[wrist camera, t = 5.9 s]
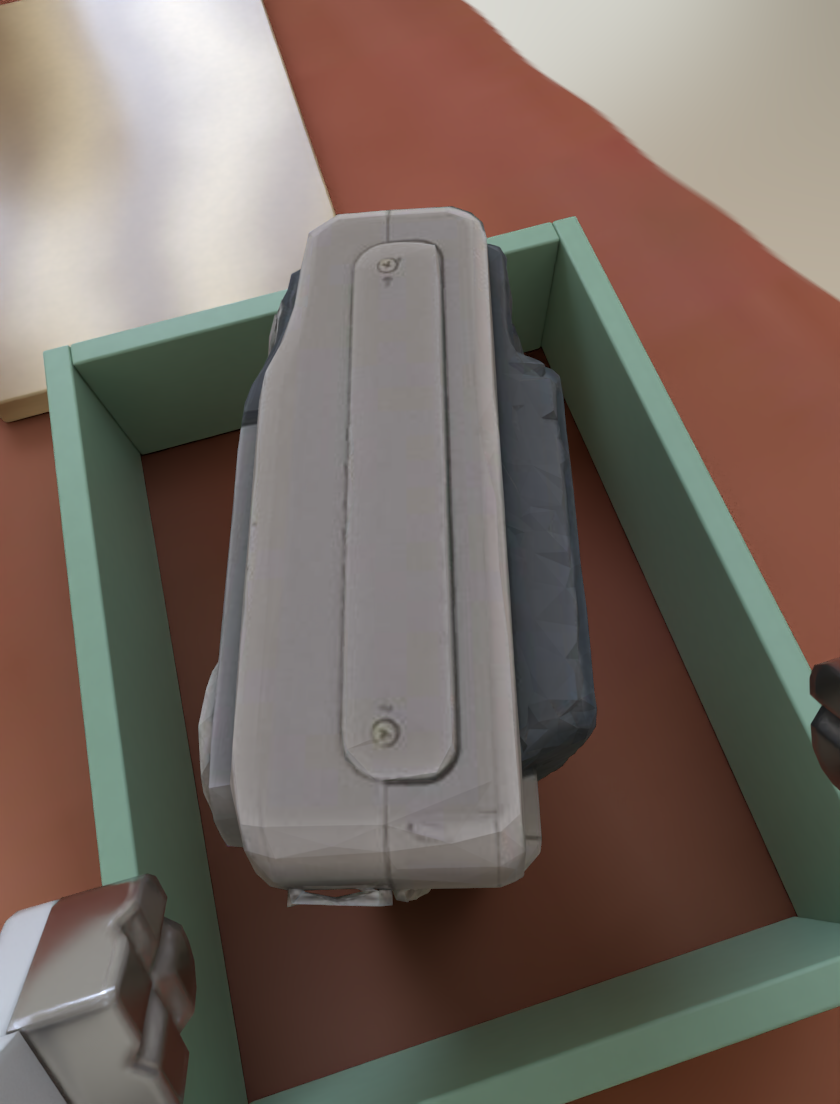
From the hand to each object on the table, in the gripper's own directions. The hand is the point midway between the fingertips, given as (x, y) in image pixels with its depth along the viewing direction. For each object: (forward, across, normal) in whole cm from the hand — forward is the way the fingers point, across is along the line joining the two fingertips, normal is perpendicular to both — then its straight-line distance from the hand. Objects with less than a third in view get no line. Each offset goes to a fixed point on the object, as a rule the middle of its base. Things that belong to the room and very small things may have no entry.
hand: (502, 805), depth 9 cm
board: (+25, -4, +11) cm, 28 cm away
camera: (+10, 0, -4) cm, 11 cm away
